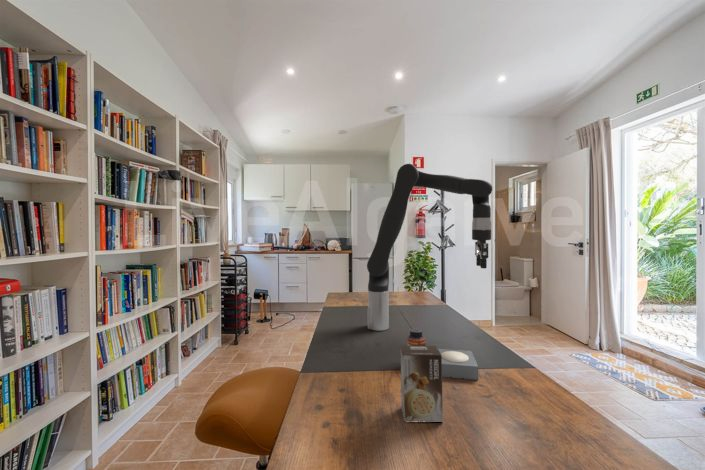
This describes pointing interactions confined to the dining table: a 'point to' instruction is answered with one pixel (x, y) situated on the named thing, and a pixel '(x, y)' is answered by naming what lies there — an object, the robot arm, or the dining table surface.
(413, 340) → the supplement bottle
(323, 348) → the dining table surface
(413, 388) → the coffee box
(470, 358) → the base block
